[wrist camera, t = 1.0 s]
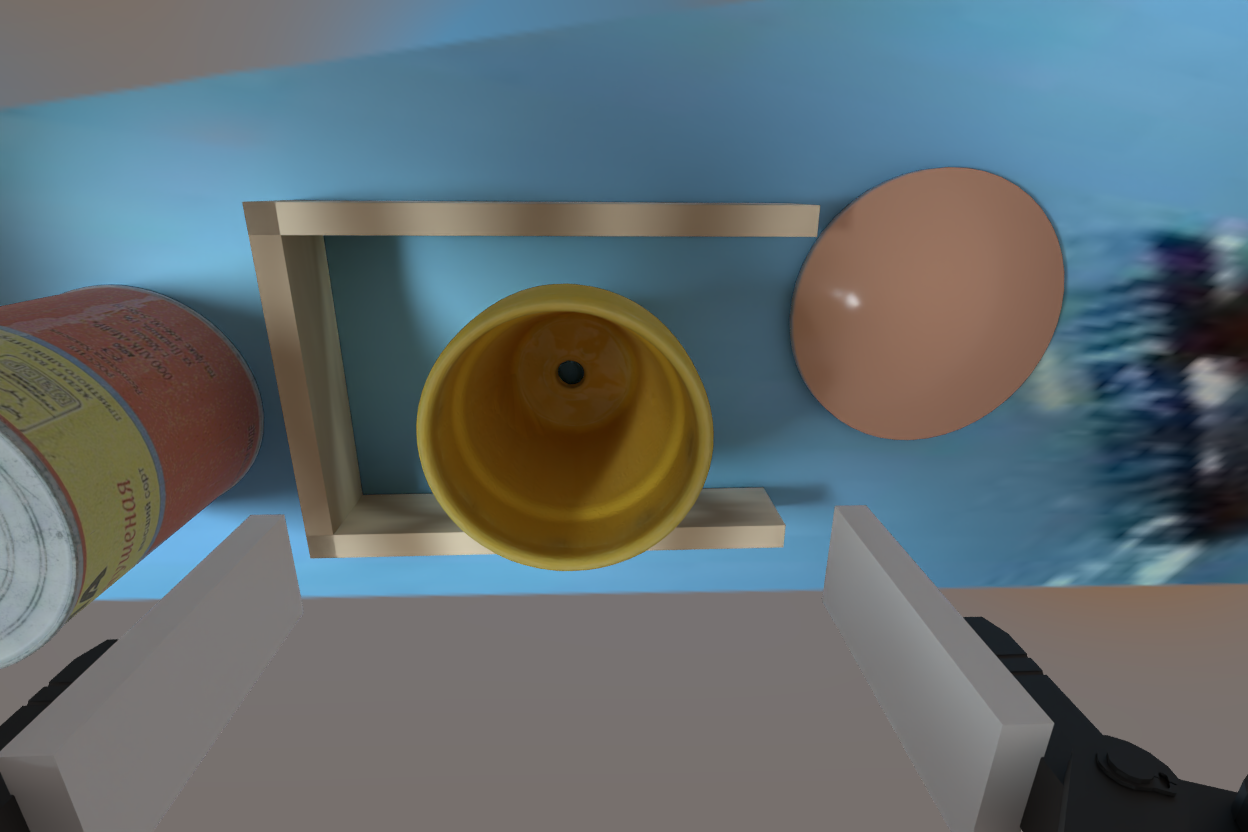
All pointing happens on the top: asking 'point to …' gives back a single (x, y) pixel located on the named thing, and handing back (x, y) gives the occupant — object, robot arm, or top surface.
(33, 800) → the robot arm
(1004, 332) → the disc
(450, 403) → the plant pot
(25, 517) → the canned food
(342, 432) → the slot cradle
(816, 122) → the top surface
